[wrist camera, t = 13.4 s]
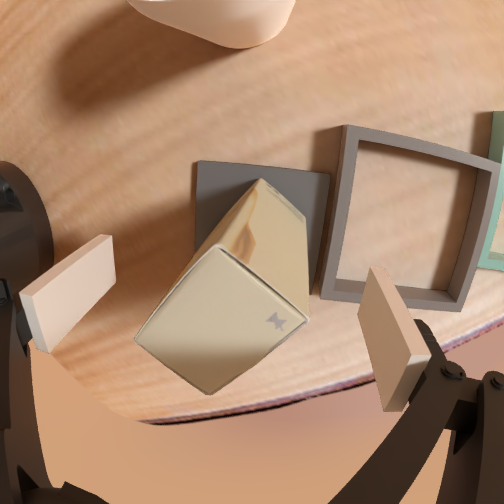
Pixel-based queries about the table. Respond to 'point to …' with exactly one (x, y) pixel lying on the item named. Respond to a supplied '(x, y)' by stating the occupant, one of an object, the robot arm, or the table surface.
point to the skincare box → (235, 294)
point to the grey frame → (471, 241)
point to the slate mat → (241, 179)
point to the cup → (221, 18)
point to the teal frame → (500, 152)
